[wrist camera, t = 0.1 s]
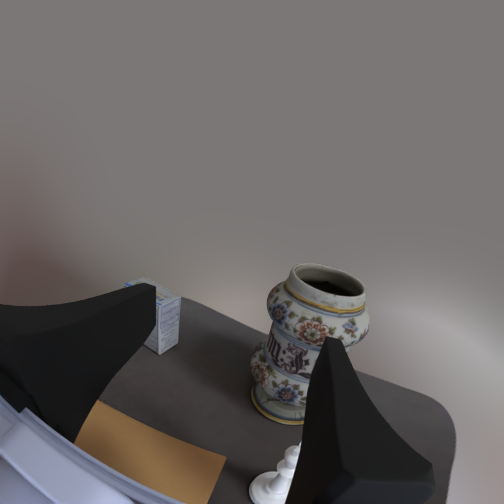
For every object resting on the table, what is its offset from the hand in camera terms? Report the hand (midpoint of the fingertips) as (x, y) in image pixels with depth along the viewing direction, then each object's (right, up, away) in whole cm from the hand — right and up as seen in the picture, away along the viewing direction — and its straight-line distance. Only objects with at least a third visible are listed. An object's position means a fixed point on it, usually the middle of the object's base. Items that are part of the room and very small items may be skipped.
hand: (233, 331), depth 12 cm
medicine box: (-15, -10, +31) cm, 36 cm away
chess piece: (+3, -21, +10) cm, 23 cm away
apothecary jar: (+5, -16, +24) cm, 30 cm away
